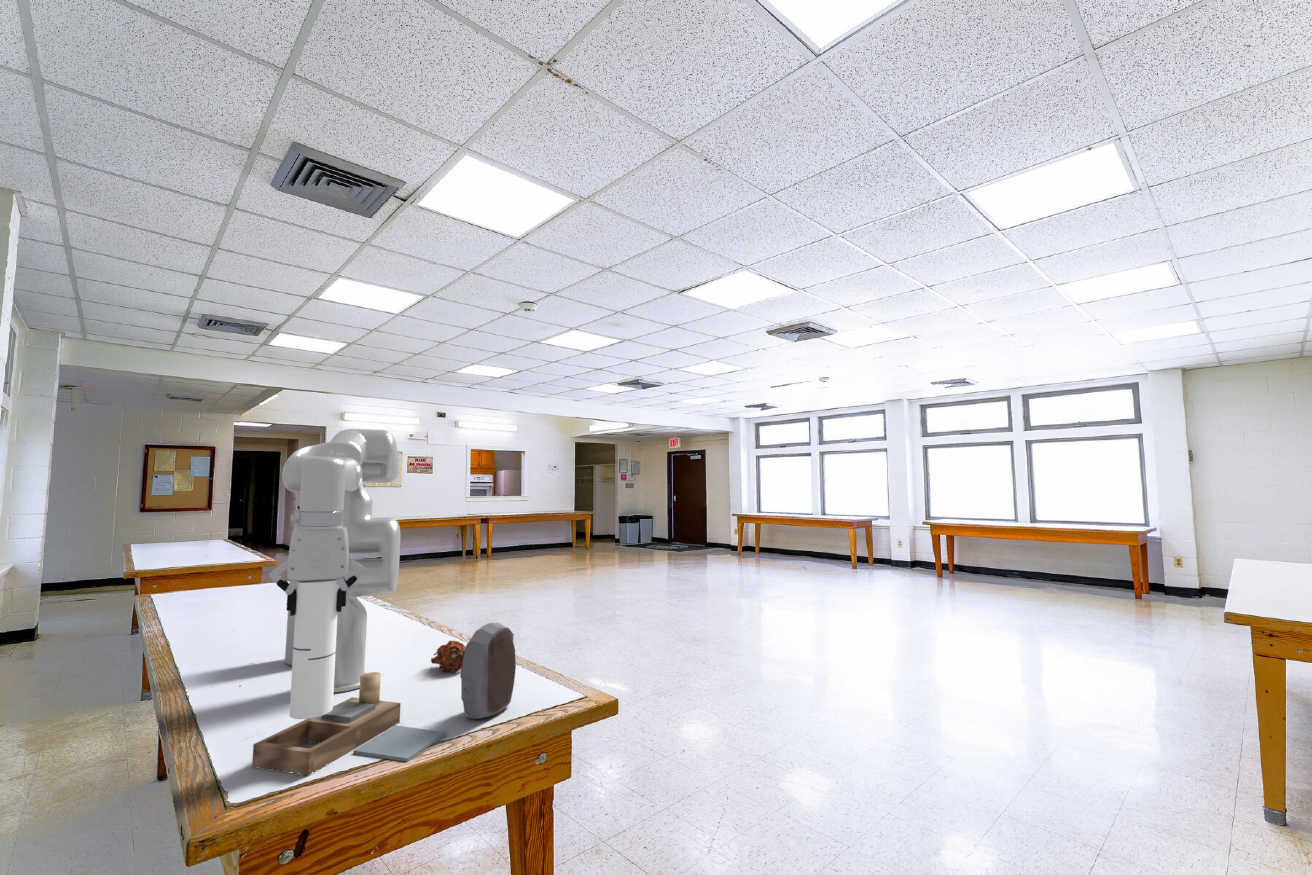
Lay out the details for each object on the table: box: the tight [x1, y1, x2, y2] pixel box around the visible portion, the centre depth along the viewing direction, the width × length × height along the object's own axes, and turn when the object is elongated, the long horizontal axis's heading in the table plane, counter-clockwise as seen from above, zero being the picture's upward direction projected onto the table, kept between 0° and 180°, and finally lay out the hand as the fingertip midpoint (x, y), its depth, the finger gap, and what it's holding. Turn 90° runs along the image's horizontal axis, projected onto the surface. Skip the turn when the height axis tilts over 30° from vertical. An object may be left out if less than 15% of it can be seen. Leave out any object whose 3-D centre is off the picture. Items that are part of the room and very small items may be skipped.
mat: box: [352, 724, 447, 762], centre depth 116 cm, size 12×12×1 cm
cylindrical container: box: [289, 579, 339, 720], centre depth 112 cm, size 7×7×25 cm
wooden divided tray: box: [251, 671, 402, 776], centre depth 116 cm, size 12×24×10 cm, turn 166°
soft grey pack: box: [459, 622, 517, 719], centre depth 133 cm, size 15×8×20 cm, turn 160°
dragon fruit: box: [430, 640, 466, 673], centre depth 162 cm, size 8×8×12 cm
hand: (316, 611), depth 113 cm, fingers closed on cylindrical container, 7 cm apart
